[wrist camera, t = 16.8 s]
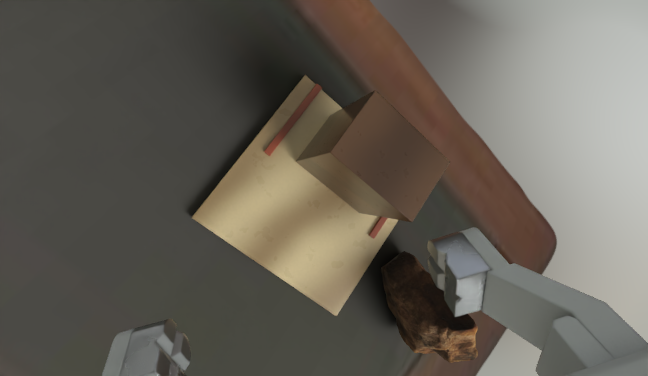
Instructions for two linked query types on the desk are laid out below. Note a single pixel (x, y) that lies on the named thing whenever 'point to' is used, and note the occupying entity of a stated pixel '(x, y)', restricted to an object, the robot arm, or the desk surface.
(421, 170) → the tall rectangular block
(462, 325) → the decorative rock
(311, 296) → the game board
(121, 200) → the desk surface
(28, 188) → the desk surface
